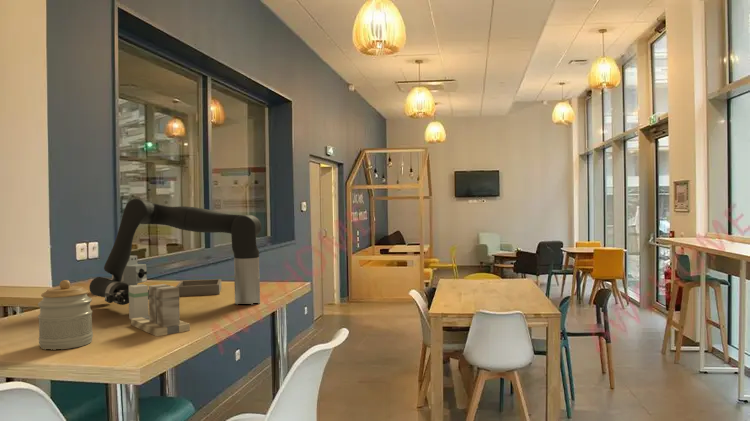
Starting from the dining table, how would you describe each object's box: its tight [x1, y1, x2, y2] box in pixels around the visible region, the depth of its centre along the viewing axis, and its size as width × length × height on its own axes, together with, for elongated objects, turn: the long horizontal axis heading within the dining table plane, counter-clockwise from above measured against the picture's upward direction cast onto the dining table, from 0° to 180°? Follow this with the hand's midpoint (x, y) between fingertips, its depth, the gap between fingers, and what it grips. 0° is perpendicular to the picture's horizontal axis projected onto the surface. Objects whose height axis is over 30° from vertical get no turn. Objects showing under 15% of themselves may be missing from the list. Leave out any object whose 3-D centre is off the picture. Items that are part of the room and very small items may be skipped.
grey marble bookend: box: [130, 283, 191, 337], centre depth 170 cm, size 20×10×13 cm, turn 43°
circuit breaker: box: [111, 255, 148, 285], centre depth 241 cm, size 8×14×15 cm, turn 78°
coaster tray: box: [175, 278, 222, 297], centre depth 235 cm, size 17×17×4 cm
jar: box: [37, 279, 94, 351], centre depth 151 cm, size 13×13×18 cm
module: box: [128, 283, 149, 320], centre depth 183 cm, size 5×5×11 cm
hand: (135, 298), depth 185 cm, fingers open, 8 cm apart
